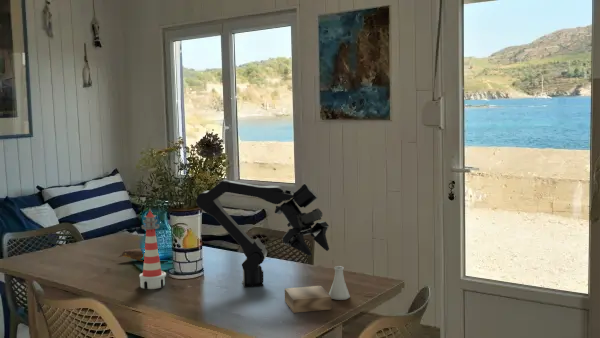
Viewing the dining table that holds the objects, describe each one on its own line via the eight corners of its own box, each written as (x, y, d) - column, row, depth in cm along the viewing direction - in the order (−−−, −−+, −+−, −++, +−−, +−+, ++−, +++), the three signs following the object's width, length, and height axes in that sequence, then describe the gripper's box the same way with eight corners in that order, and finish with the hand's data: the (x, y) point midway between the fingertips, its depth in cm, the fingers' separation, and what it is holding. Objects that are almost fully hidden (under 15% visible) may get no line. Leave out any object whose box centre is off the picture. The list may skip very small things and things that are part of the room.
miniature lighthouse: (171, 283, 220) (168, 199, 217) (157, 290, 211) (154, 203, 208) (149, 281, 223) (146, 198, 220) (134, 288, 214) (130, 202, 211)
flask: (348, 301, 198) (348, 270, 197) (326, 300, 199) (326, 269, 198) (351, 294, 205) (351, 265, 204) (329, 293, 206) (329, 264, 205)
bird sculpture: (180, 260, 252) (180, 248, 251) (117, 264, 247) (116, 252, 246) (180, 256, 258) (180, 245, 258) (118, 260, 253) (118, 248, 253)
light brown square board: (293, 312, 187) (293, 299, 187) (284, 300, 199) (284, 288, 198) (331, 309, 190) (331, 296, 190) (320, 297, 202) (320, 285, 201)
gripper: (288, 205, 201) (314, 243, 195) (324, 198, 215) (350, 233, 209) (271, 225, 207) (296, 263, 201) (307, 218, 221) (331, 252, 215)
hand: (319, 252), depth 206 cm, fingers open, 9 cm apart
